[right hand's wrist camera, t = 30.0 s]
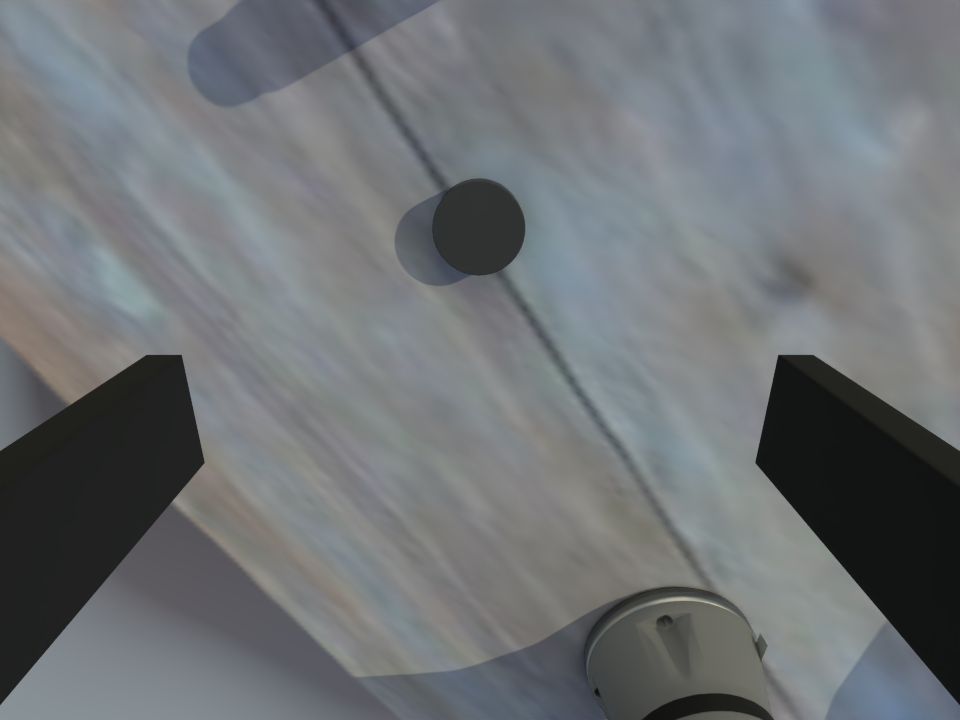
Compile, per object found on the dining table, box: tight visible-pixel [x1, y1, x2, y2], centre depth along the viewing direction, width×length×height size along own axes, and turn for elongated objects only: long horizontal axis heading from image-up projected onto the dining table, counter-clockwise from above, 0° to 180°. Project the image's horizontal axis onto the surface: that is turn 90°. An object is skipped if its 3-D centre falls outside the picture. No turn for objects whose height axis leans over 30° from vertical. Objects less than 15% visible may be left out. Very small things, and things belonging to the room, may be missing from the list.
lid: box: [433, 179, 525, 275], centre depth 36 cm, size 6×6×2 cm
